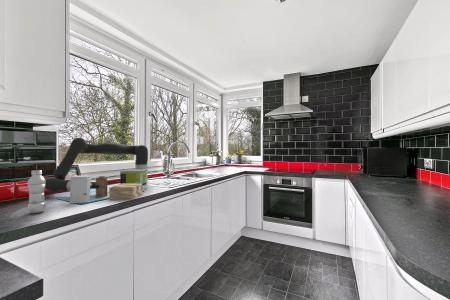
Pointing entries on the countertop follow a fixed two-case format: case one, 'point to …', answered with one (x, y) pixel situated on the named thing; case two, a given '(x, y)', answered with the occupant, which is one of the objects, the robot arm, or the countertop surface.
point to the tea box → (133, 177)
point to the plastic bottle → (36, 192)
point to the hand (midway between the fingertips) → (103, 185)
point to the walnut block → (101, 186)
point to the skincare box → (80, 189)
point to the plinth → (125, 191)
